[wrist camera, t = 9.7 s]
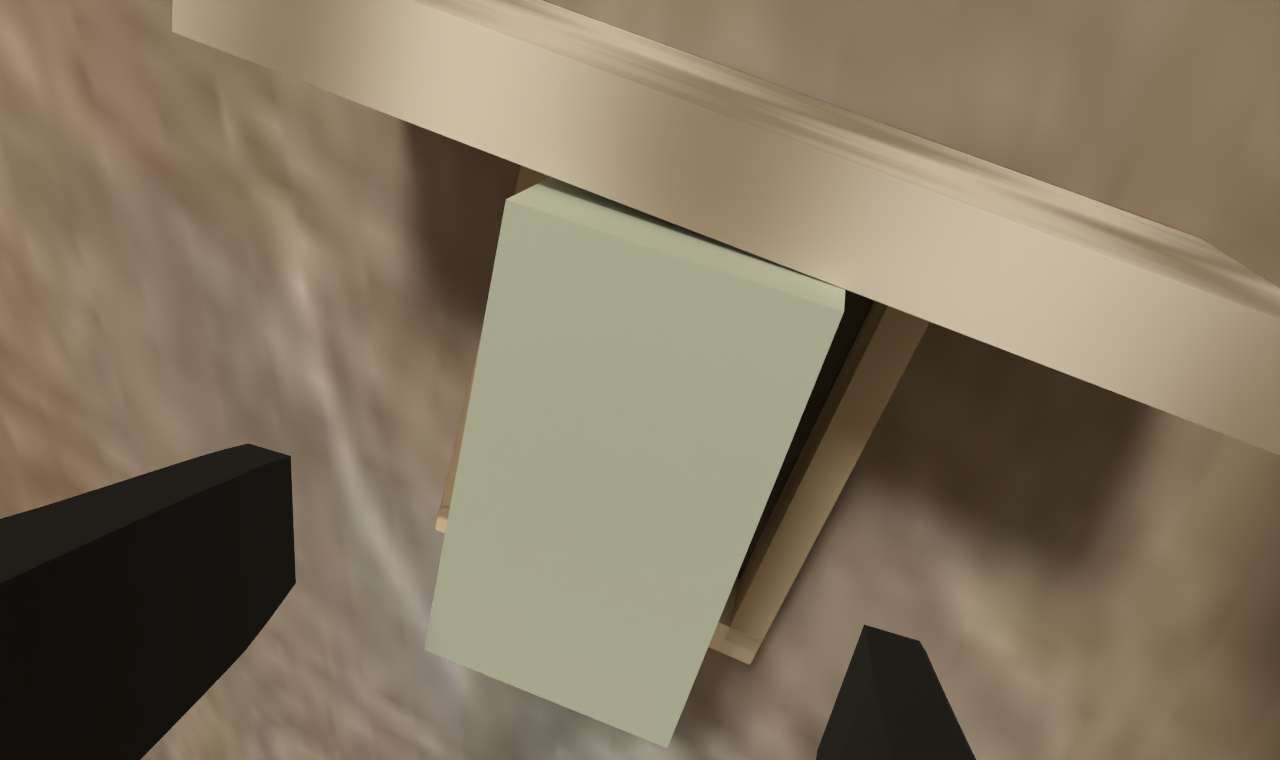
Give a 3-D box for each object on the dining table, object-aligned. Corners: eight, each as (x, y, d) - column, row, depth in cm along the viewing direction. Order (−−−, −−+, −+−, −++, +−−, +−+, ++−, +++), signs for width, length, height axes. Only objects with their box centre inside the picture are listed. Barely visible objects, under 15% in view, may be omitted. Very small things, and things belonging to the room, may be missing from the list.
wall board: (1200, 238, 14) (1398, 362, 9) (908, 677, 20) (925, 917, 15) (404, -50, 16) (175, -87, 11) (332, 433, 21) (156, 569, 16)
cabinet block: (850, 199, 16) (844, 311, 10) (722, 532, 20) (659, 767, 13) (640, 132, 16) (506, 199, 10) (556, 470, 20) (419, 669, 14)
